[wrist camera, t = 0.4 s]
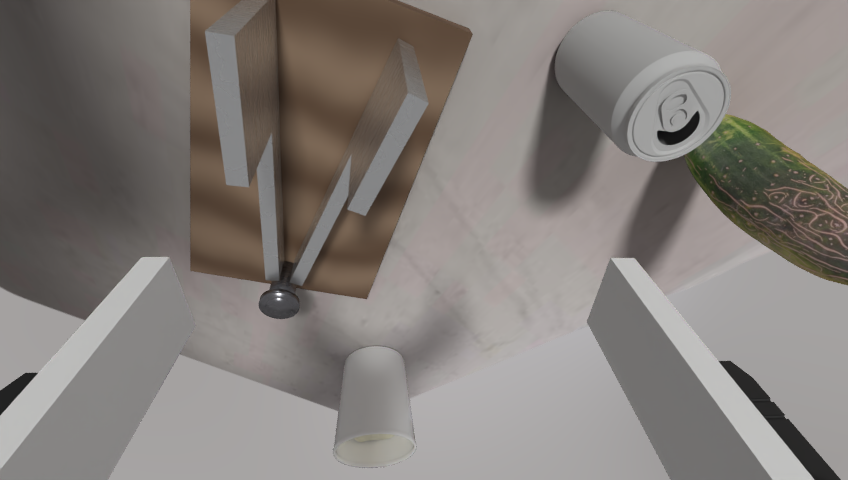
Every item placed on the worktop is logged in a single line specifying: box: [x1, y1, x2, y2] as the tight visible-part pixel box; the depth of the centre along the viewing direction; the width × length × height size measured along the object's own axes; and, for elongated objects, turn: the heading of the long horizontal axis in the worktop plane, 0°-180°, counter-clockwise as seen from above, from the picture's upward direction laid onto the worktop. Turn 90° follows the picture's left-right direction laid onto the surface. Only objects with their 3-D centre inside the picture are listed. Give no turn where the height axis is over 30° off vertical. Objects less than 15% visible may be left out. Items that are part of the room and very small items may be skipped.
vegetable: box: [684, 114, 848, 285], centre depth 30 cm, size 6×6×20 cm
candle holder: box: [333, 346, 416, 468], centre depth 52 cm, size 10×10×12 cm
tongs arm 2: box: [289, 38, 429, 286], centre depth 30 cm, size 23×1×10 cm, turn 151°
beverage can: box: [555, 11, 731, 162], centre depth 27 cm, size 6×6×12 cm
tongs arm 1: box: [205, 0, 284, 281], centre depth 29 cm, size 23×1×10 cm, turn 169°
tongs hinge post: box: [259, 261, 300, 319], centre depth 39 cm, size 4×4×5 cm
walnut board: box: [190, 0, 472, 299], centre depth 35 cm, size 29×18×2 cm, turn 160°
